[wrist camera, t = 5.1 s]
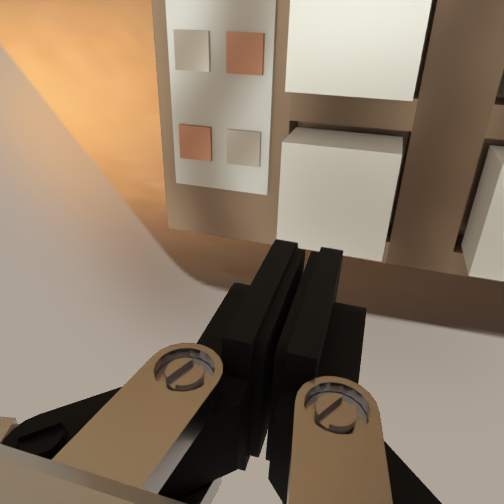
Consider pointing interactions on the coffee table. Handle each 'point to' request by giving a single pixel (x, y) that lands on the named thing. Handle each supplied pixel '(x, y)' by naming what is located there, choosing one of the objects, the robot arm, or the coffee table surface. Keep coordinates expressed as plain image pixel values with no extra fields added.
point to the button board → (322, 122)
